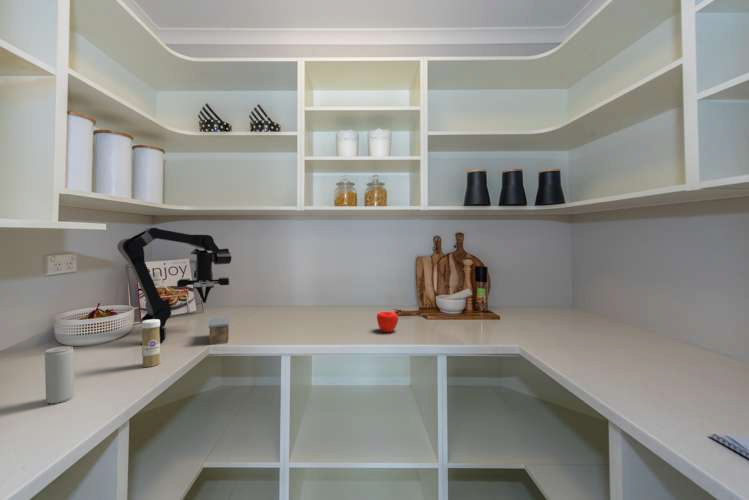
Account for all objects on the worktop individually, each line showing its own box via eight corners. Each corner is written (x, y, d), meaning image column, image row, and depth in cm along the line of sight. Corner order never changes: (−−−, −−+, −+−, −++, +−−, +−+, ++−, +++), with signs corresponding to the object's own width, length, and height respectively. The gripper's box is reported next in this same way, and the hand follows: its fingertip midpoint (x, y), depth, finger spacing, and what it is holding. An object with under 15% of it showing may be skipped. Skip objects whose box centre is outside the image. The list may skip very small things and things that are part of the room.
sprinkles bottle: (146, 368, 94) (146, 322, 94) (139, 365, 97) (138, 321, 96) (163, 363, 98) (163, 319, 98) (155, 360, 101) (155, 317, 100)
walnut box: (209, 344, 117) (209, 328, 117) (212, 335, 128) (212, 320, 128) (227, 342, 119) (227, 326, 119) (229, 334, 130) (228, 319, 130)
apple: (399, 329, 139) (399, 311, 139) (395, 334, 131) (396, 315, 131) (379, 327, 141) (379, 309, 141) (374, 333, 133) (374, 314, 133)
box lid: (208, 327, 116) (208, 325, 116) (211, 320, 128) (211, 318, 128) (228, 325, 119) (227, 323, 119) (229, 318, 130) (229, 316, 130)
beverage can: (80, 394, 78) (79, 345, 78) (61, 404, 73) (60, 352, 73) (59, 395, 78) (58, 345, 78) (39, 405, 73) (38, 352, 73)
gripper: (229, 263, 144) (229, 298, 145) (181, 264, 137) (181, 301, 138) (228, 265, 134) (228, 302, 134) (176, 266, 127) (177, 305, 127)
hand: (204, 302), depth 134 cm, fingers closed
